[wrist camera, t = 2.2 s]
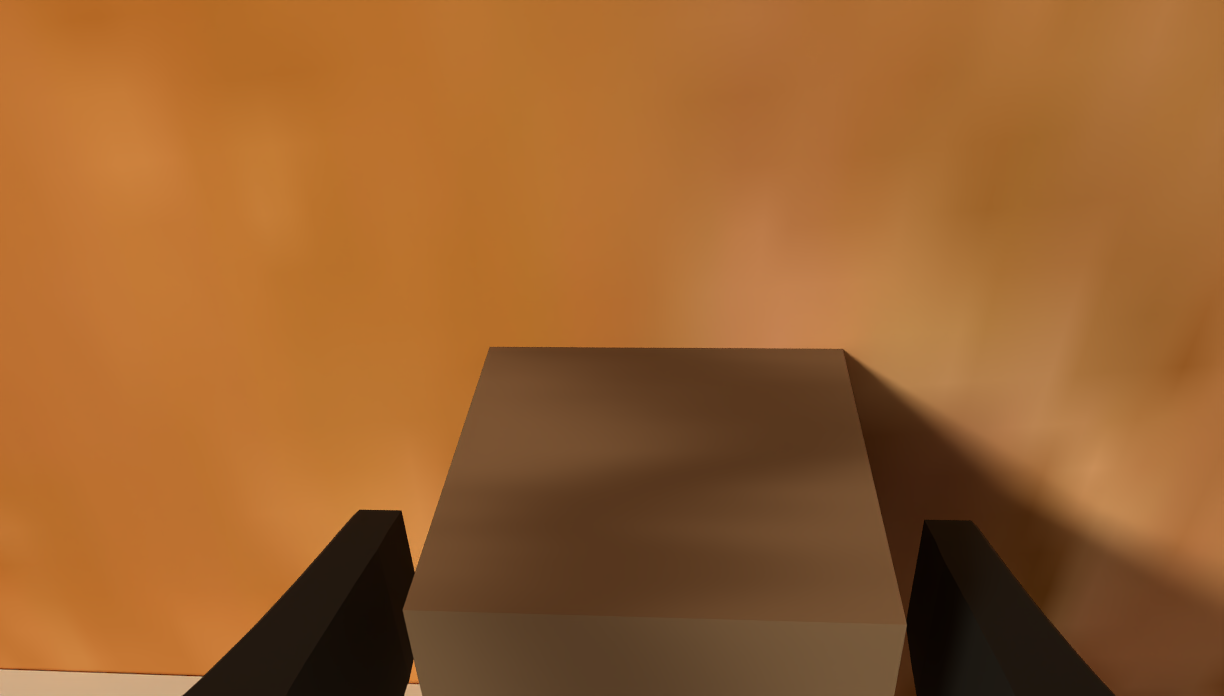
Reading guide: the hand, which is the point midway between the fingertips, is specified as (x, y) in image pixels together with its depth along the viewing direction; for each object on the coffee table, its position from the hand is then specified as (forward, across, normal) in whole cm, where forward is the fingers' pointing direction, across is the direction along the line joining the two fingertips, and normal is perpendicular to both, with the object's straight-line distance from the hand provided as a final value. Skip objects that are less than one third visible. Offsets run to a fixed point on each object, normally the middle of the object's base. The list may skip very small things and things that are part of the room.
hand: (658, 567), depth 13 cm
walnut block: (+2, 0, 0) cm, 2 cm away
